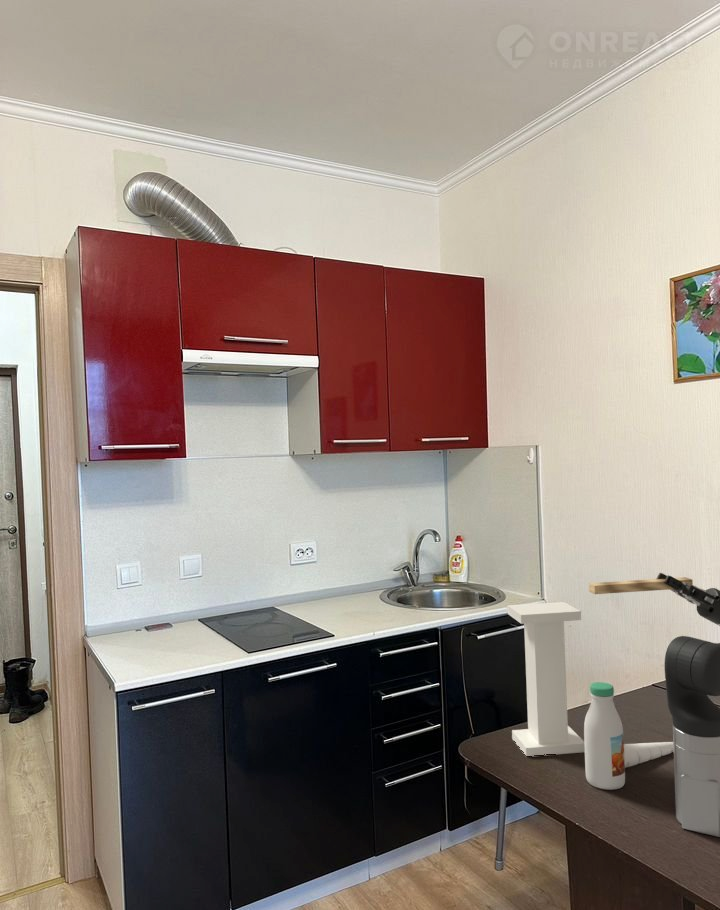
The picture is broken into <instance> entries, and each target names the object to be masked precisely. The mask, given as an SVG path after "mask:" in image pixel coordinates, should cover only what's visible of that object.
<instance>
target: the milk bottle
mask: <svg viewBox="0 0 720 910" xmlns="http://www.w3.org/2000/svg"><path fill="white" fill-rule="evenodd" d="M614 688H615V687H614V686H613V685H612V684H611V683H609V682H603V681H602V682H601V681H598V682H597V681H596V682H592V683H590V685H589V690H590V696H591V702H590V704H589V707H588V710H587V711H586V715H585V718H584V725H583V737H584V738H583V741H584V745H585V752H584V765H585V766H584V768H585V769H584V770H585V771H584V772H585V778H586V781H587V783H588V784H590V785H591V786H593V787H595V788H597V789H600V790H607V791H608V790H610V791H612V790H618V789H621V788H624V785H625V783H626V768H625V760H624V744H625V742H624V741H625V739H624V728H623V723H622V719H621V717H620V714H619V713H618V711H617V709H616V705H615V704H614V698H615V695H614V693H615V689H614Z"/></svg>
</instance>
